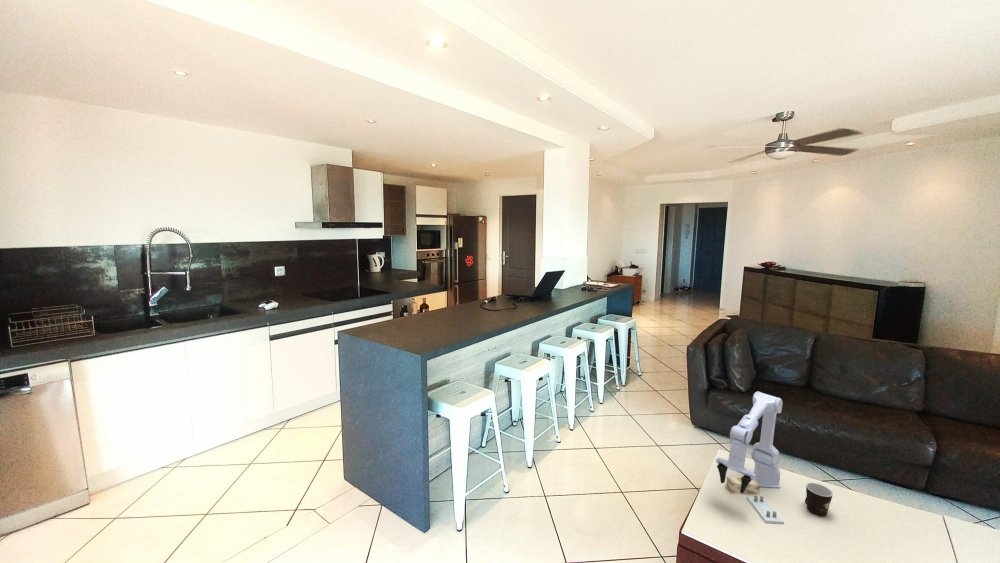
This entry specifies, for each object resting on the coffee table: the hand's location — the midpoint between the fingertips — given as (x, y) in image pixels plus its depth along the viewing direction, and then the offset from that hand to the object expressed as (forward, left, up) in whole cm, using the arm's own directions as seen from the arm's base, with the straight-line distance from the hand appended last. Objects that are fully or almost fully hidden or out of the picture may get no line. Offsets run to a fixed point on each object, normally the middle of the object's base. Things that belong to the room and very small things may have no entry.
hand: (732, 487), depth 162 cm
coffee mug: (-34, -2, -11) cm, 36 cm away
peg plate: (-14, -1, -11) cm, 18 cm away
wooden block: (-12, -13, -11) cm, 21 cm away
